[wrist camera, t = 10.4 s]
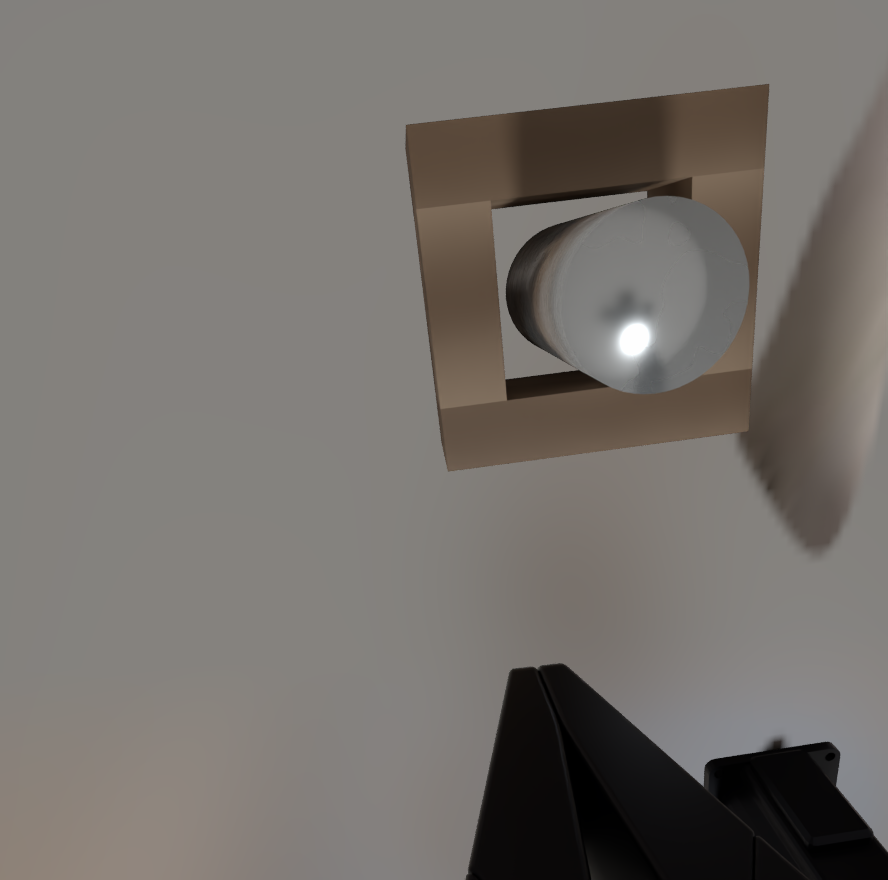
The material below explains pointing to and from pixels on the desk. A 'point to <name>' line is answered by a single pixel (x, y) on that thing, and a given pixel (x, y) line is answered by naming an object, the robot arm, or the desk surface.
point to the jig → (558, 179)
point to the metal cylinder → (633, 292)
